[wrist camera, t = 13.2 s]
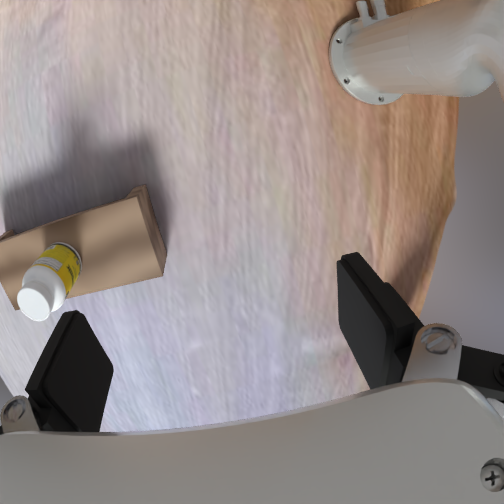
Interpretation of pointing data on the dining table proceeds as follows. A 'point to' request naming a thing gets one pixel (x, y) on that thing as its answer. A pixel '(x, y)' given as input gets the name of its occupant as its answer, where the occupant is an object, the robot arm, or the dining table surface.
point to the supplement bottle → (49, 281)
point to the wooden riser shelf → (92, 246)
